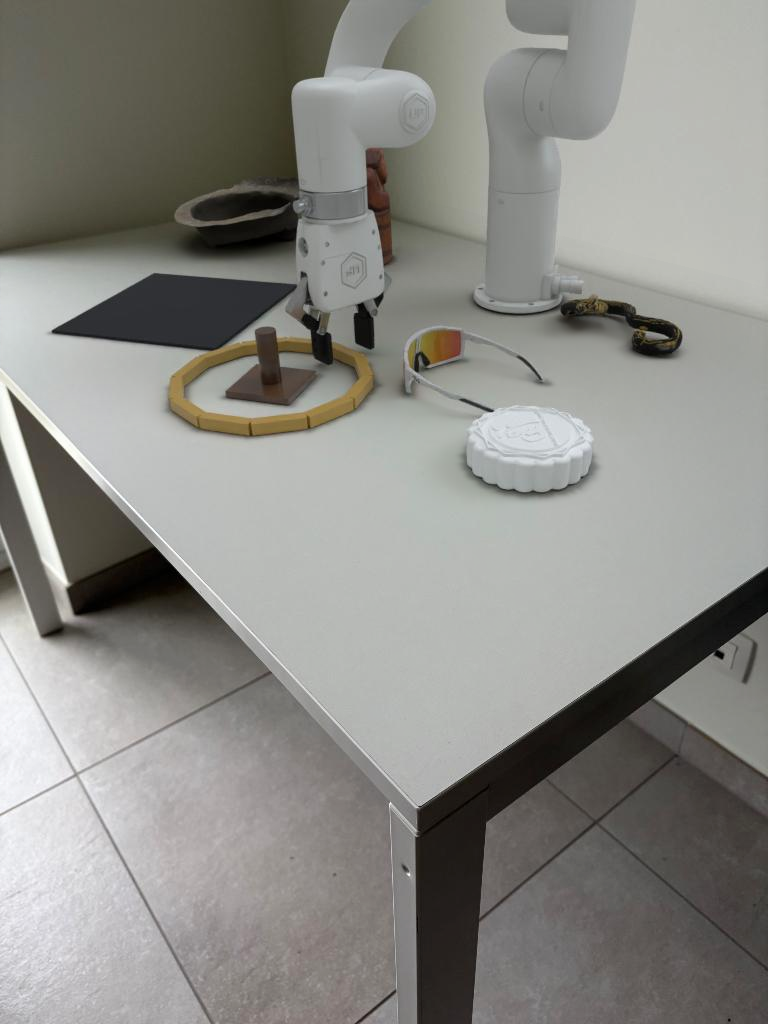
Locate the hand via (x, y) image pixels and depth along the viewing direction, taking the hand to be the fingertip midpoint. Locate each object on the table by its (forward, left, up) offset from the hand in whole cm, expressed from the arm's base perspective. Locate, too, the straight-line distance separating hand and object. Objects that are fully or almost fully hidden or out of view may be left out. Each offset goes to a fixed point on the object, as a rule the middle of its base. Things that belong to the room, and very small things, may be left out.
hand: (344, 352), depth 100 cm
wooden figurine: (+12, -41, -1) cm, 43 cm away
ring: (+5, +9, -1) cm, 11 cm away
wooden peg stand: (+5, +9, -1) cm, 11 cm away
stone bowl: (+38, -47, -1) cm, 60 cm away
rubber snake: (-32, -17, -1) cm, 36 cm away
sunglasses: (-17, +3, -1) cm, 17 cm away
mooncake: (-27, +18, -1) cm, 32 cm away
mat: (+30, -12, -1) cm, 33 cm away
